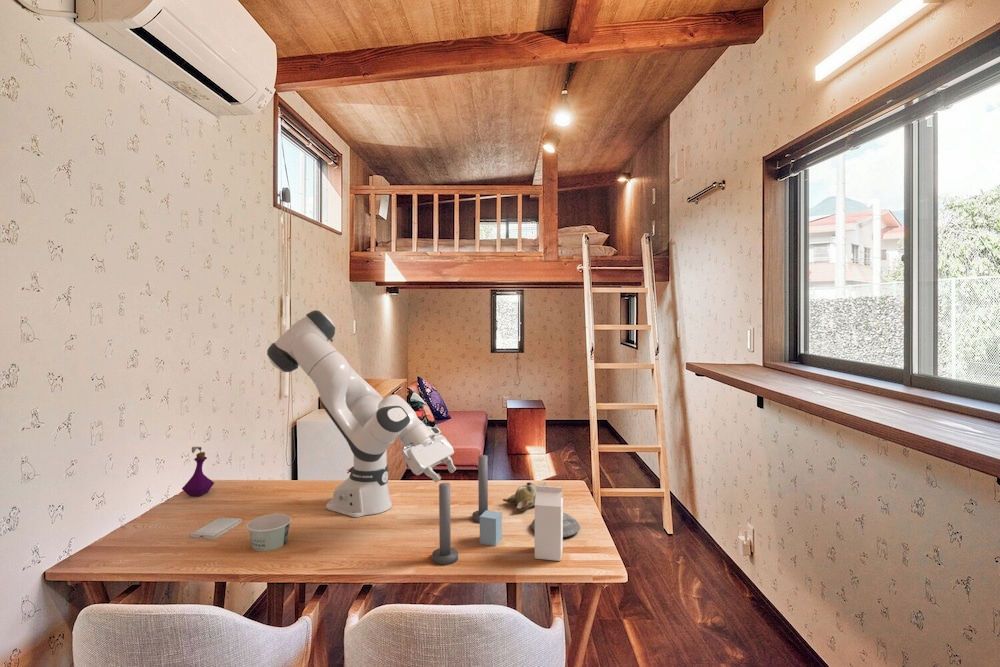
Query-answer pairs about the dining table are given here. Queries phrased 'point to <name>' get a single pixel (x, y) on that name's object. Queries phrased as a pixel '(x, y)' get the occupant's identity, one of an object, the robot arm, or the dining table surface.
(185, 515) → the dining table surface
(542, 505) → the milk carton
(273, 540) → the food container
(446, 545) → the near post
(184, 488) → the perfume bottle
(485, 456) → the far post
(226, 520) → the hard drive
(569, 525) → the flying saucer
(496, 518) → the slate block
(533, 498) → the ceramic sculpture
